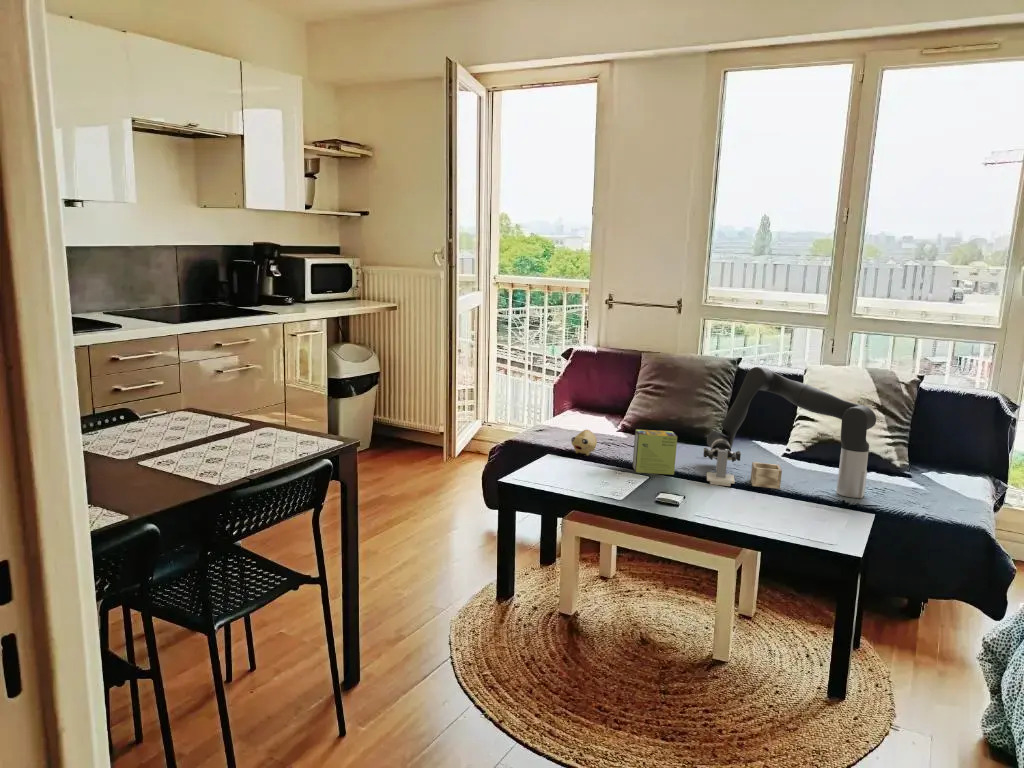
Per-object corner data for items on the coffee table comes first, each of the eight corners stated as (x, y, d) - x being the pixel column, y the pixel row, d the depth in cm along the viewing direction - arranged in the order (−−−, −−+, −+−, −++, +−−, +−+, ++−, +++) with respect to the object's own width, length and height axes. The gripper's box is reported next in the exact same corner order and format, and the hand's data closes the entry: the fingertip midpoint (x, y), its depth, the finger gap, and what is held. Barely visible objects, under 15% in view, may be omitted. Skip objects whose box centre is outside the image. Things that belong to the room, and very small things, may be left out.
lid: (733, 481, 297) (736, 449, 295) (734, 487, 287) (737, 454, 286) (706, 478, 299) (709, 446, 298) (706, 484, 290) (709, 452, 288)
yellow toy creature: (566, 454, 327) (567, 430, 326) (579, 450, 337) (581, 426, 336) (586, 458, 322) (588, 433, 320) (599, 454, 332) (601, 429, 330)
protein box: (674, 475, 302) (678, 436, 300) (635, 472, 302) (638, 434, 300) (669, 468, 312) (672, 431, 310) (631, 466, 312) (634, 428, 310)
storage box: (777, 482, 299) (779, 464, 298) (780, 488, 289) (781, 470, 288) (750, 479, 301) (752, 462, 300) (752, 485, 291) (754, 467, 290)
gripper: (703, 438, 307) (703, 446, 291) (740, 442, 304) (743, 450, 288) (701, 456, 308) (702, 465, 292) (738, 460, 305) (741, 470, 289)
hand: (722, 458), depth 290 cm, fingers open, 7 cm apart
